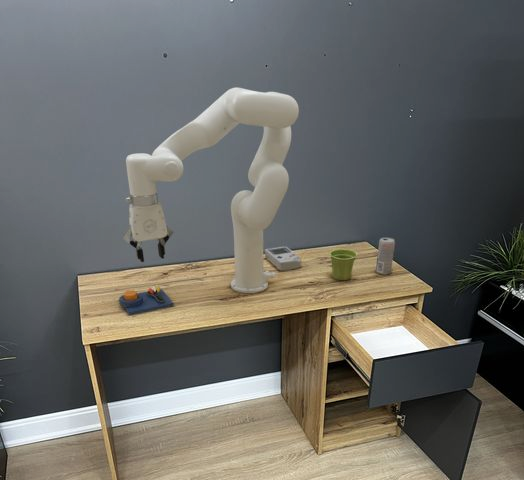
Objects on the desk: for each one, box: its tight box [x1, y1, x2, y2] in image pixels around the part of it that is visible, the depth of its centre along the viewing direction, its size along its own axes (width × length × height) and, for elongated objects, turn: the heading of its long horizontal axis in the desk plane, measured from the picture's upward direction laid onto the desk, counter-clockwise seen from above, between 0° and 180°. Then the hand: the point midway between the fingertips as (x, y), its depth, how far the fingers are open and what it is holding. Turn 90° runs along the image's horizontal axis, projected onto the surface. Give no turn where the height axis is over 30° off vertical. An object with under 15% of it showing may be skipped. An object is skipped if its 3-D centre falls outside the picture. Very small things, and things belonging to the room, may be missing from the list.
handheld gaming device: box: [264, 245, 302, 272], centre depth 191 cm, size 9×15×4 cm, turn 22°
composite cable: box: [146, 284, 165, 303], centre depth 163 cm, size 10×5×2 cm, turn 22°
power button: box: [123, 289, 138, 301], centre depth 160 cm, size 4×4×2 cm
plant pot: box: [328, 248, 358, 281], centre depth 178 cm, size 9×9×9 cm
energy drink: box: [375, 237, 396, 276], centre depth 181 cm, size 5×5×12 cm
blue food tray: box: [118, 288, 174, 316], centre depth 163 cm, size 15×12×3 cm
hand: (151, 258), depth 157 cm, fingers open, 5 cm apart
